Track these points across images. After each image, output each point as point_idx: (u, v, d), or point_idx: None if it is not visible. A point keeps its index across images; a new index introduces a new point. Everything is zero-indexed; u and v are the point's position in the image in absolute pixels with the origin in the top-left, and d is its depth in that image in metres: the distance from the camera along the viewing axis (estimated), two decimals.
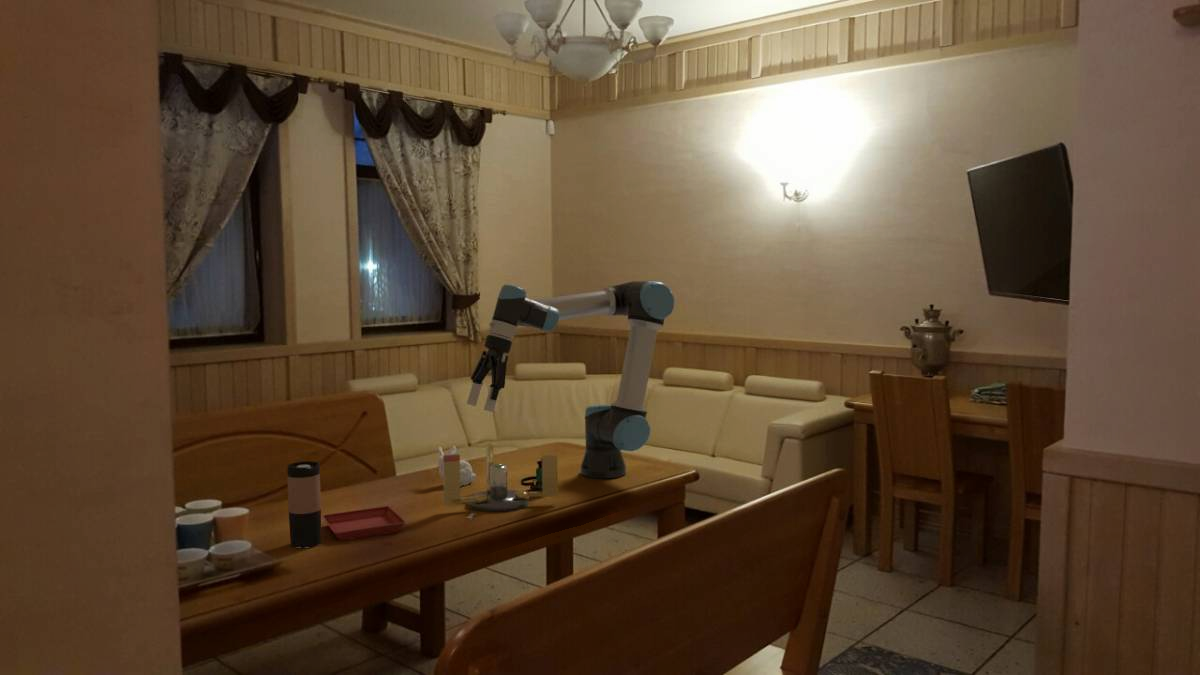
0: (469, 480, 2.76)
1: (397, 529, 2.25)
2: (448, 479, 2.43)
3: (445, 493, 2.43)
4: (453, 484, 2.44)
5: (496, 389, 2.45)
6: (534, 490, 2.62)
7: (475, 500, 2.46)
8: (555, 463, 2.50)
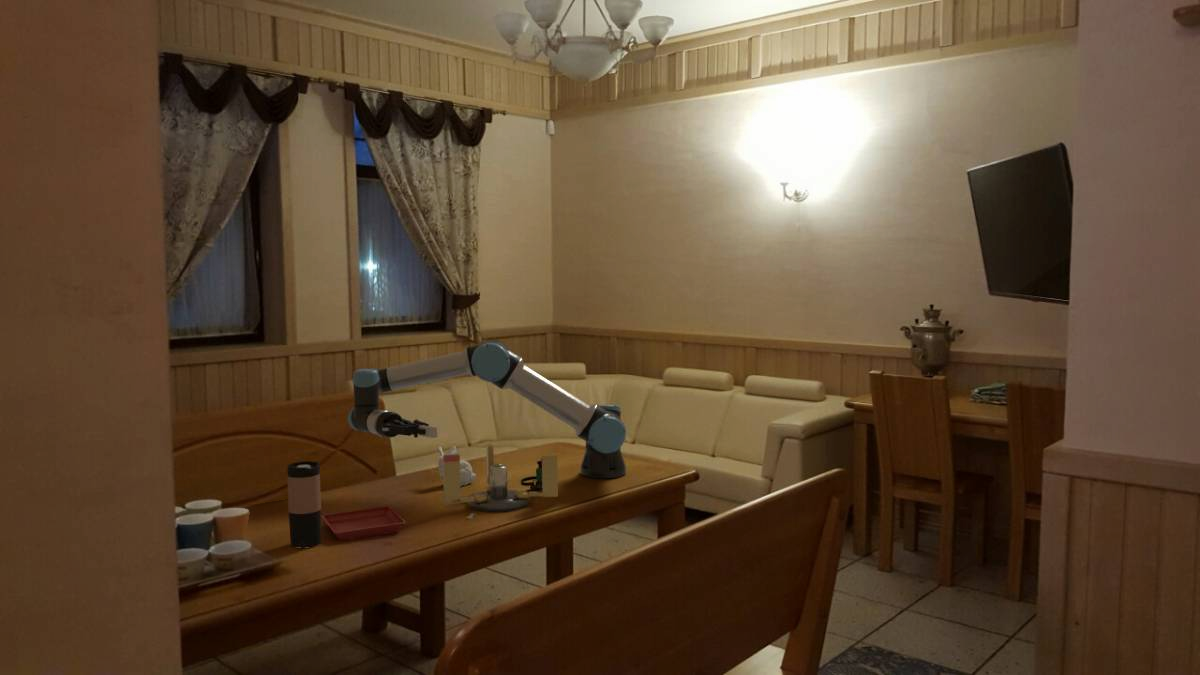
0: (469, 480, 2.76)
1: (397, 529, 2.25)
2: (448, 479, 2.43)
3: (445, 493, 2.43)
4: (453, 484, 2.44)
5: (415, 431, 2.51)
6: (534, 490, 2.62)
7: (475, 500, 2.46)
8: (555, 463, 2.50)
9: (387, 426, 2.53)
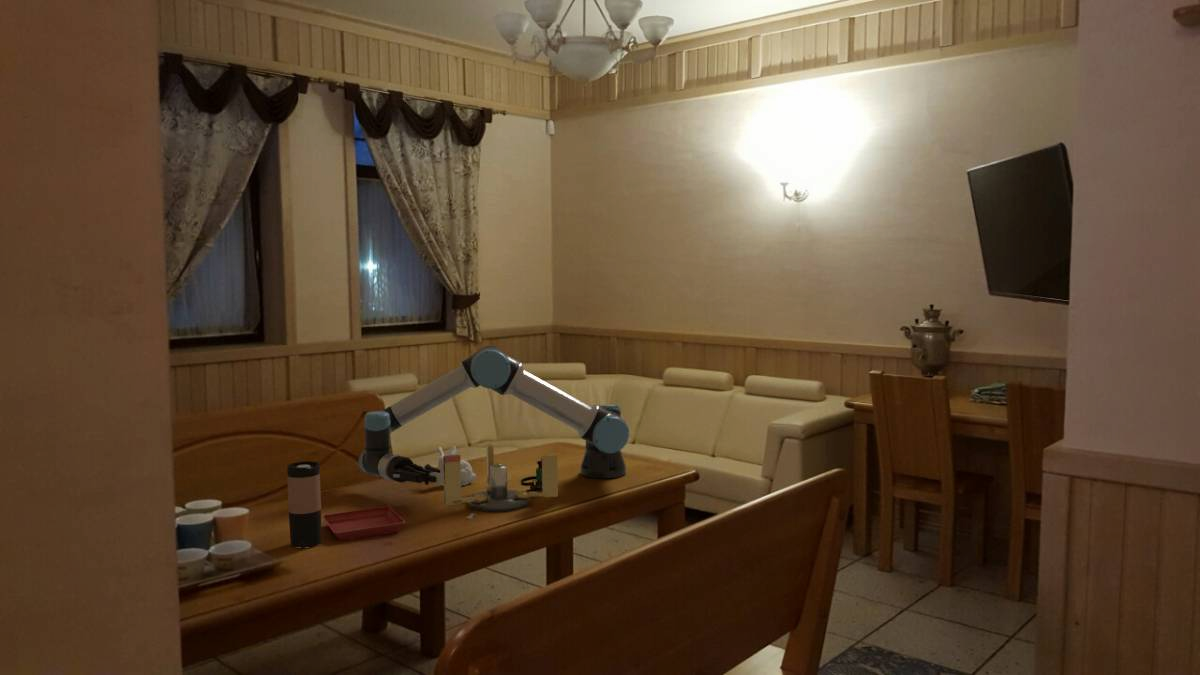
0: (469, 480, 2.76)
1: (397, 529, 2.25)
2: (449, 480, 2.42)
3: (446, 494, 2.42)
4: (454, 485, 2.43)
5: (426, 478, 2.47)
6: (534, 490, 2.62)
7: (475, 500, 2.46)
8: (555, 463, 2.50)
9: (398, 472, 2.50)
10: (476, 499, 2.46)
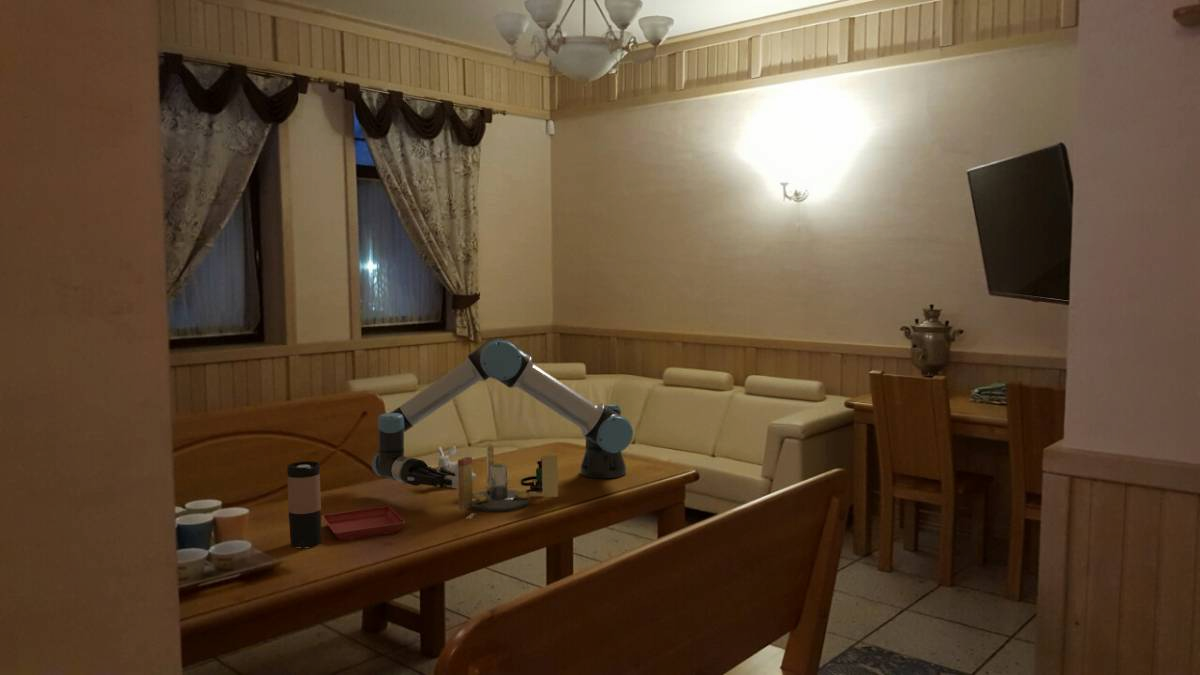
0: None
1: (397, 529, 2.25)
2: (465, 483, 2.38)
3: (464, 498, 2.38)
4: (468, 488, 2.40)
5: (441, 482, 2.43)
6: (534, 490, 2.62)
7: (481, 500, 2.45)
8: (555, 463, 2.50)
9: (412, 475, 2.46)
10: (481, 499, 2.46)
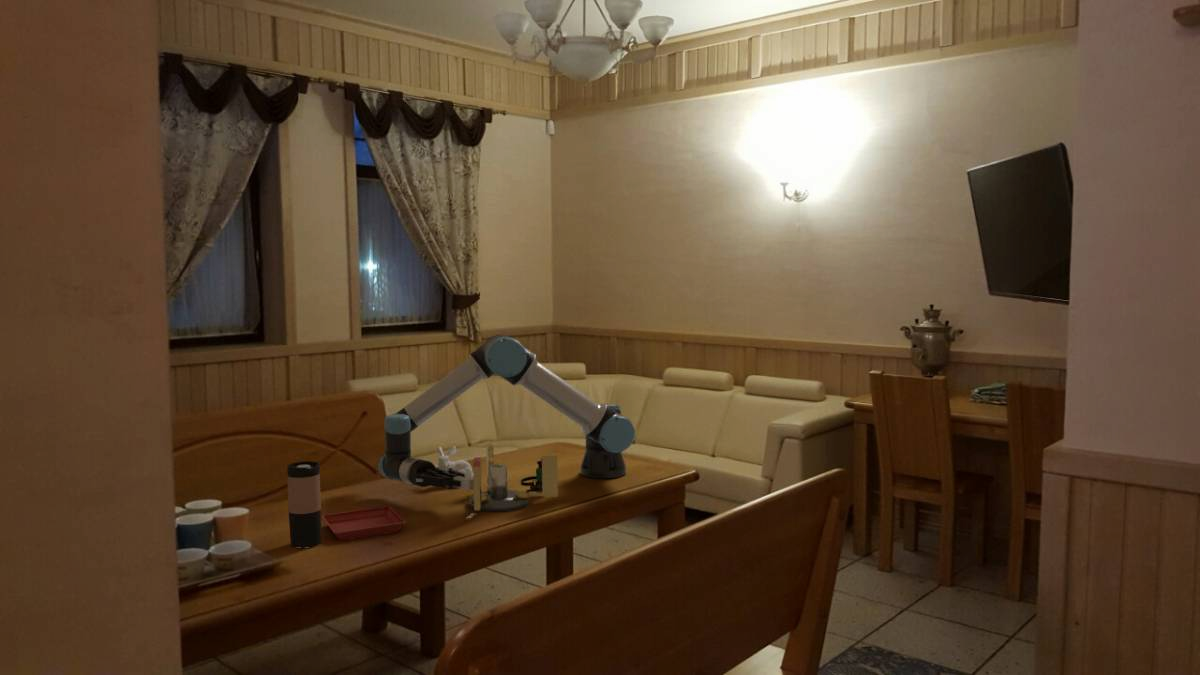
0: None
1: (397, 529, 2.25)
2: None
3: (479, 498, 2.37)
4: (480, 488, 2.39)
5: (450, 483, 2.41)
6: (534, 490, 2.62)
7: (483, 500, 2.46)
8: (555, 463, 2.50)
9: (421, 477, 2.44)
10: (484, 499, 2.46)
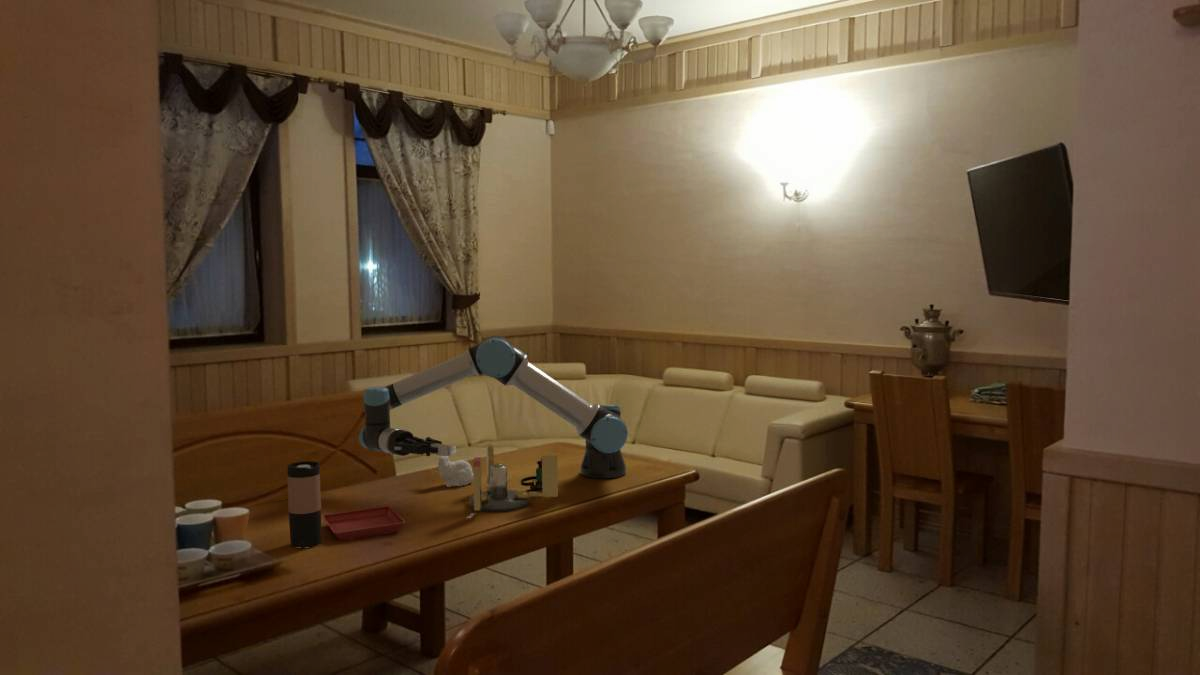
0: (469, 480, 2.76)
1: (397, 529, 2.25)
2: None
3: (479, 498, 2.37)
4: (480, 488, 2.39)
5: (427, 450, 2.49)
6: (534, 490, 2.62)
7: (483, 500, 2.46)
8: (555, 463, 2.50)
9: (399, 445, 2.52)
10: (484, 499, 2.46)
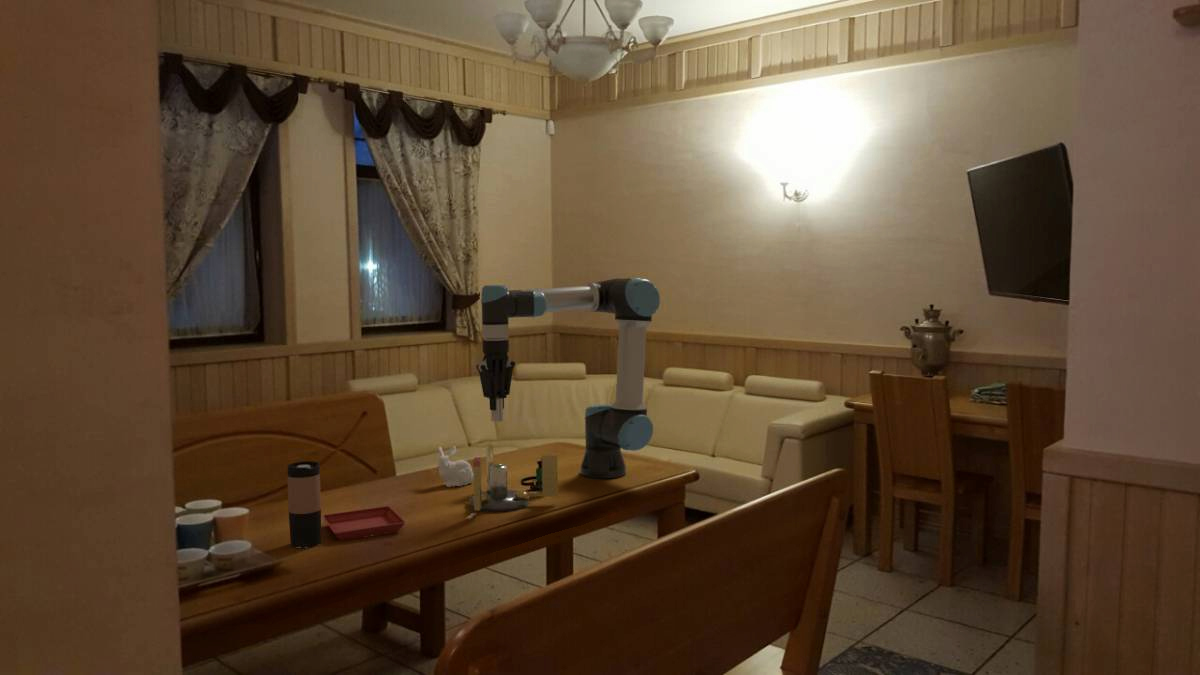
0: (469, 480, 2.76)
1: (397, 529, 2.25)
2: None
3: (479, 498, 2.37)
4: (480, 488, 2.39)
5: (490, 399, 2.49)
6: (534, 490, 2.62)
7: (483, 500, 2.46)
8: (555, 463, 2.50)
9: (483, 371, 2.45)
10: (484, 499, 2.46)
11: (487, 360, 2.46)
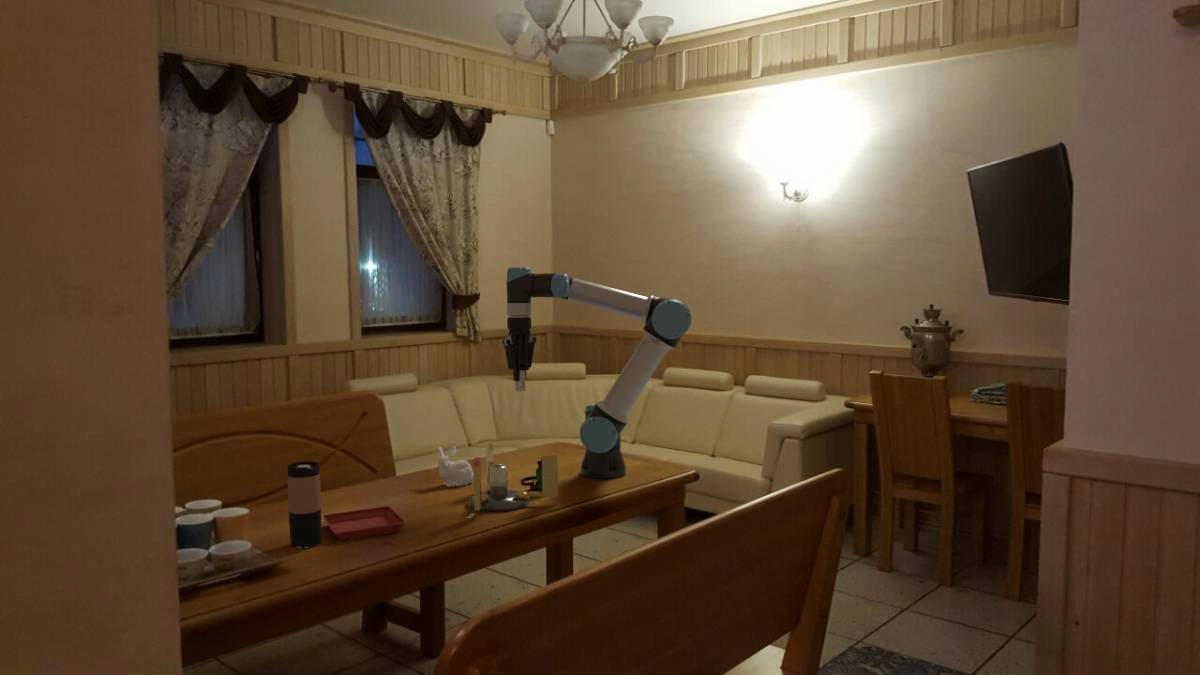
0: (469, 480, 2.76)
1: (397, 529, 2.25)
2: None
3: (479, 498, 2.37)
4: (480, 488, 2.39)
5: (514, 371, 2.74)
6: (534, 490, 2.62)
7: (483, 500, 2.46)
8: (555, 463, 2.50)
9: (508, 345, 2.70)
10: (484, 499, 2.46)
11: (512, 335, 2.71)
